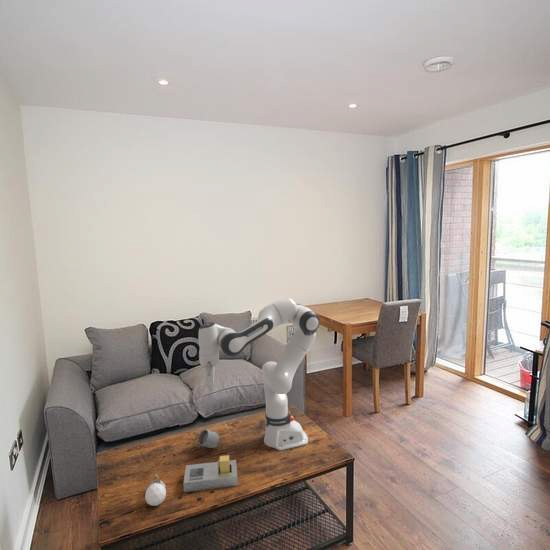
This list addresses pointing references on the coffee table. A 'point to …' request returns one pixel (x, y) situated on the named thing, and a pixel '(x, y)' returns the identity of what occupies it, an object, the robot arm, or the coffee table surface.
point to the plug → (224, 464)
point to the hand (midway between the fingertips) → (210, 388)
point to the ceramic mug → (208, 439)
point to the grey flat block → (209, 476)
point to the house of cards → (157, 481)
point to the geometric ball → (155, 494)
